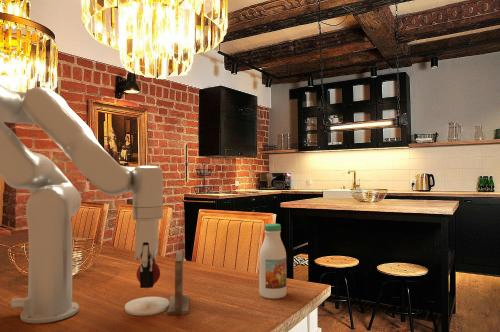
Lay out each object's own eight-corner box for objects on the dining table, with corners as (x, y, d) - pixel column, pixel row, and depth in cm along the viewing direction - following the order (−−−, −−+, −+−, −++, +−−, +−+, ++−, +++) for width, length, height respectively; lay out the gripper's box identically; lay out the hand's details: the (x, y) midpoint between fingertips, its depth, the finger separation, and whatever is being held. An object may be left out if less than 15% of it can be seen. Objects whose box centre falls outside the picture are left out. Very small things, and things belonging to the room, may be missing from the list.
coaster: (121, 316, 90) (121, 312, 90) (129, 301, 100) (129, 297, 100) (167, 314, 91) (167, 310, 91) (170, 299, 102) (170, 295, 102)
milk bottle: (255, 297, 104) (255, 225, 104) (264, 289, 111) (264, 222, 111) (282, 300, 101) (281, 226, 101) (289, 292, 108) (289, 223, 108)
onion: (151, 283, 100) (151, 253, 100) (164, 287, 96) (164, 256, 97) (132, 288, 96) (132, 257, 96) (145, 293, 92) (145, 260, 92)
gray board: (167, 315, 91) (167, 261, 91) (170, 298, 103) (170, 251, 103) (188, 313, 91) (188, 260, 92) (189, 297, 103) (189, 250, 104)
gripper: (137, 210, 104) (138, 275, 104) (127, 217, 87) (127, 295, 87) (165, 209, 105) (165, 274, 105) (159, 216, 88) (160, 293, 88)
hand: (148, 282), depth 96 cm, fingers closed on onion, 5 cm apart
